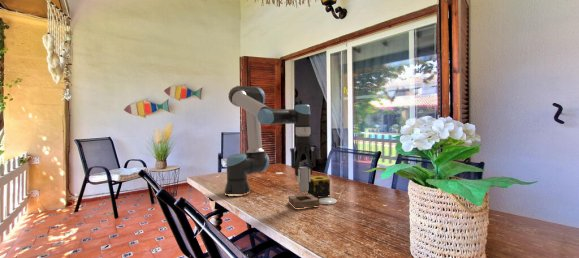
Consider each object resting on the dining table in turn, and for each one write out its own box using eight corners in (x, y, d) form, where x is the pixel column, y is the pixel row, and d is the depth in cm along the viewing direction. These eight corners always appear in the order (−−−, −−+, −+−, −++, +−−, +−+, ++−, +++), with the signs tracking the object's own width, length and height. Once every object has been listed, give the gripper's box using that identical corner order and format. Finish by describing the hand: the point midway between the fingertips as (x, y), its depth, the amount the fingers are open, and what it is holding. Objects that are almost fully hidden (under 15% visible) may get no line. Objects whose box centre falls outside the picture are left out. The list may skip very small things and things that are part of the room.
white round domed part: (314, 200, 143) (314, 199, 143) (331, 198, 146) (331, 197, 146) (322, 206, 134) (322, 204, 134) (340, 203, 137) (340, 202, 137)
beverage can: (302, 189, 140) (302, 166, 139) (310, 190, 137) (310, 167, 136) (297, 191, 136) (296, 167, 136) (304, 192, 133) (304, 168, 132)
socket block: (288, 202, 140) (288, 196, 140) (310, 200, 144) (310, 193, 143) (296, 210, 129) (296, 202, 128) (319, 207, 132) (319, 199, 132)
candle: (306, 194, 157) (306, 176, 156) (322, 192, 160) (322, 175, 159) (313, 198, 147) (313, 180, 147) (330, 196, 150) (330, 178, 150)
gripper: (288, 136, 129) (289, 184, 130) (322, 135, 134) (323, 181, 135) (283, 135, 136) (284, 181, 137) (316, 134, 142) (317, 178, 142)
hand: (303, 181), depth 136 cm, fingers closed on beverage can, 5 cm apart
